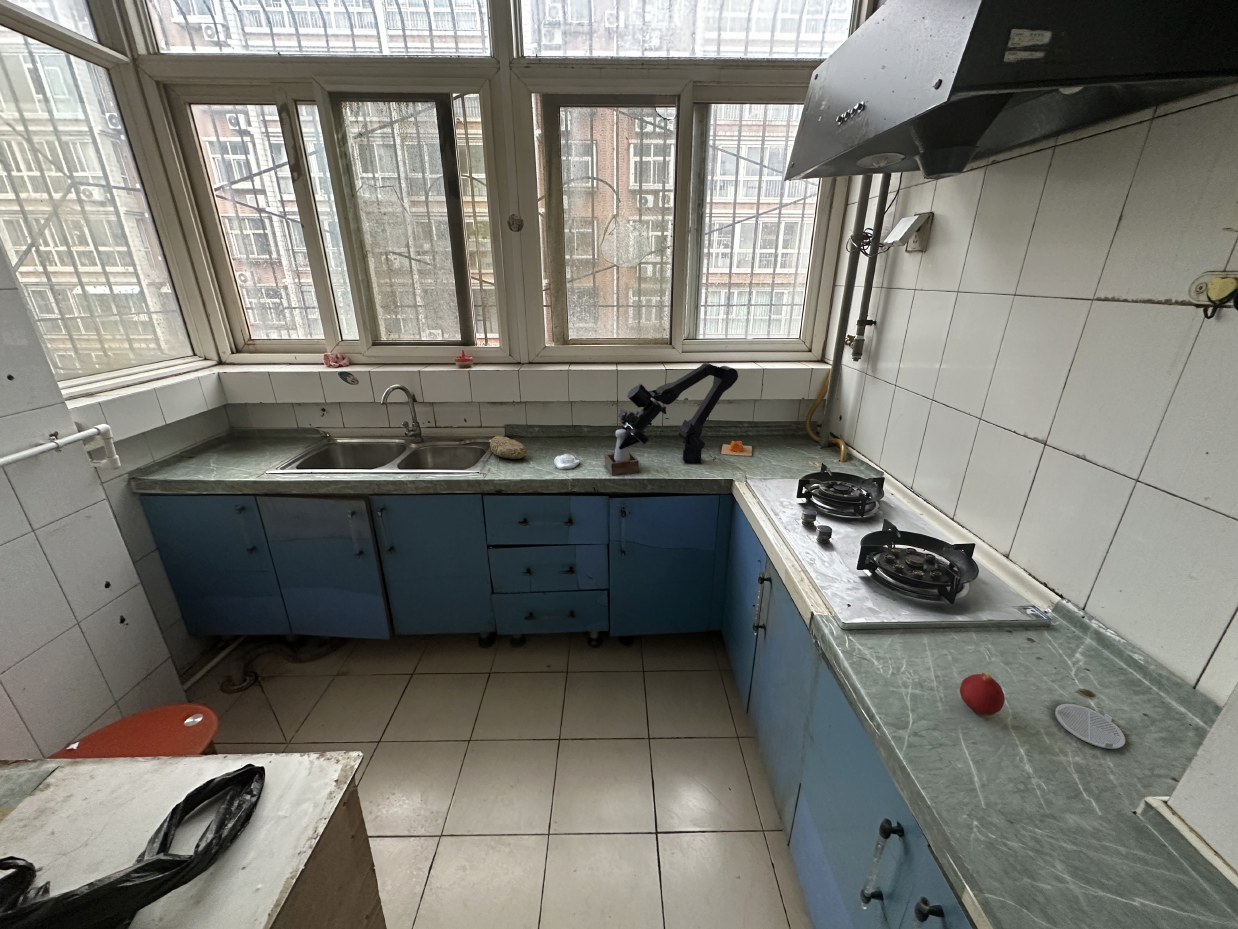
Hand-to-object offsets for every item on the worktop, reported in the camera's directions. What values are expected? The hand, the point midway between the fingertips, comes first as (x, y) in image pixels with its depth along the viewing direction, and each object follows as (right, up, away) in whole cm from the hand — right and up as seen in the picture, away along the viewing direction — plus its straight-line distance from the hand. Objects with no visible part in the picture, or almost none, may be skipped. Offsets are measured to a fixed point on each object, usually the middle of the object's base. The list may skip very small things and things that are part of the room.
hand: (618, 447), depth 182 cm
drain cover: (+75, -48, -103) cm, 136 cm away
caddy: (+1, -8, +3) cm, 9 cm away
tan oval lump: (-44, -3, +19) cm, 48 cm away
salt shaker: (+1, -6, +3) cm, 7 cm away
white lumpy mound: (-20, -7, +8) cm, 22 cm away
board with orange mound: (+49, -1, +22) cm, 53 cm away
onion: (+59, -47, -100) cm, 125 cm away
